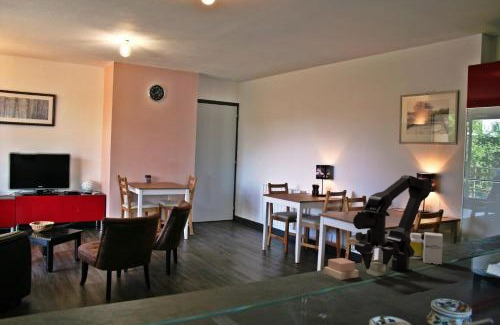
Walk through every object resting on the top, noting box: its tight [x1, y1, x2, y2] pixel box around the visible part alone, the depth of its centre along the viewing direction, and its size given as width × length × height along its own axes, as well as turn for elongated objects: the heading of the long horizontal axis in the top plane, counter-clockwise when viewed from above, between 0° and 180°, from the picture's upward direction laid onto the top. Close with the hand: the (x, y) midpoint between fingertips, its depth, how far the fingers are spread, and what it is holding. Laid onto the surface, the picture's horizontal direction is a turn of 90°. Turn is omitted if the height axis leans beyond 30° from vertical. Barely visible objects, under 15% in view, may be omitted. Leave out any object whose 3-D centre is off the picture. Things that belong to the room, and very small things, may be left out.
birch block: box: [323, 266, 360, 281], centre depth 158 cm, size 9×9×3 cm
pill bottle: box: [409, 232, 424, 260], centre depth 191 cm, size 6×6×11 cm
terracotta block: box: [327, 257, 356, 272], centre depth 158 cm, size 7×7×3 cm
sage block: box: [365, 261, 387, 277], centre depth 161 cm, size 5×5×4 cm
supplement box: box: [422, 231, 444, 266], centre depth 183 cm, size 7×7×13 cm
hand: (376, 267), depth 161 cm, fingers open, 9 cm apart
